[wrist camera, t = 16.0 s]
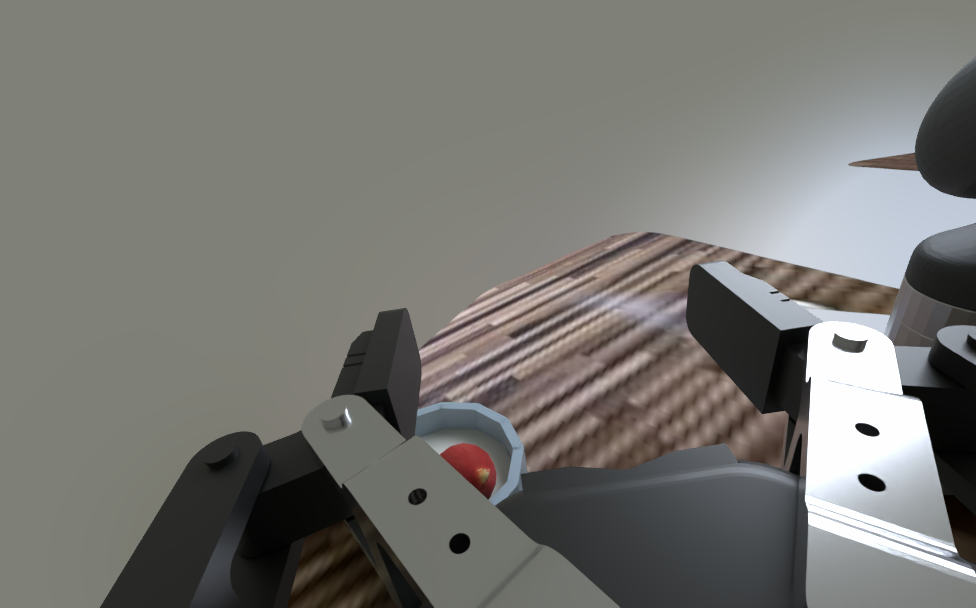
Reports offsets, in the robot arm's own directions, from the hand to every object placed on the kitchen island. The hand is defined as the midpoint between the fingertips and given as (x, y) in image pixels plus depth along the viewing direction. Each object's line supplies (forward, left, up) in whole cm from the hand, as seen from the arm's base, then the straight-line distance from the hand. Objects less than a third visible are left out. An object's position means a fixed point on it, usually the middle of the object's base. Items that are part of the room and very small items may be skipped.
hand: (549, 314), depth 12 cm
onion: (+3, -21, -28) cm, 35 cm away
